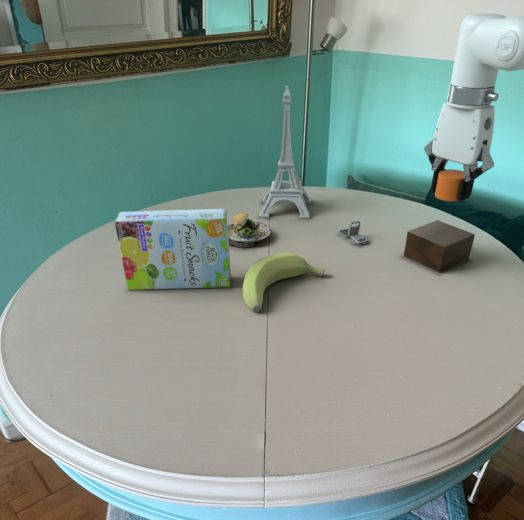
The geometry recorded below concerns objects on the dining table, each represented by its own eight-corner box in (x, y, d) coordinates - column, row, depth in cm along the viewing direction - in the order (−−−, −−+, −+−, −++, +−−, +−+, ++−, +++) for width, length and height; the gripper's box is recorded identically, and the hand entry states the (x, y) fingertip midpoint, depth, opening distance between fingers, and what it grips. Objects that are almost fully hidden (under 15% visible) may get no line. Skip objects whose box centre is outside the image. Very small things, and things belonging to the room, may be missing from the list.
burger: (257, 252, 119) (256, 221, 115) (213, 242, 124) (211, 212, 119) (279, 232, 128) (279, 203, 124) (238, 224, 132) (236, 195, 128)
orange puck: (469, 197, 103) (474, 174, 101) (452, 203, 101) (456, 180, 98) (446, 189, 107) (450, 167, 104) (428, 195, 104) (432, 173, 102)
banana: (229, 253, 103) (317, 245, 110) (225, 274, 107) (310, 265, 114) (254, 299, 95) (346, 287, 103) (249, 320, 99) (338, 307, 107)
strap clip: (368, 243, 122) (371, 226, 120) (358, 246, 121) (360, 228, 119) (348, 230, 128) (350, 214, 126) (338, 232, 127) (339, 216, 125)
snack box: (231, 275, 110) (227, 207, 102) (230, 288, 106) (225, 218, 97) (131, 278, 110) (118, 209, 101) (126, 291, 106) (112, 221, 97)
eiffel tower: (258, 217, 136) (255, 91, 118) (263, 199, 147) (261, 81, 129) (309, 218, 135) (314, 91, 117) (311, 200, 145) (315, 81, 128)
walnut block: (469, 259, 115) (475, 234, 111) (439, 272, 110) (445, 246, 106) (432, 244, 121) (437, 219, 118) (403, 256, 116) (407, 231, 113)
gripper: (526, 100, 89) (498, 202, 100) (443, 86, 100) (427, 179, 111) (500, 106, 86) (475, 212, 96) (418, 91, 97) (403, 187, 108)
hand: (449, 193), depth 104 cm, fingers closed on orange puck, 5 cm apart
